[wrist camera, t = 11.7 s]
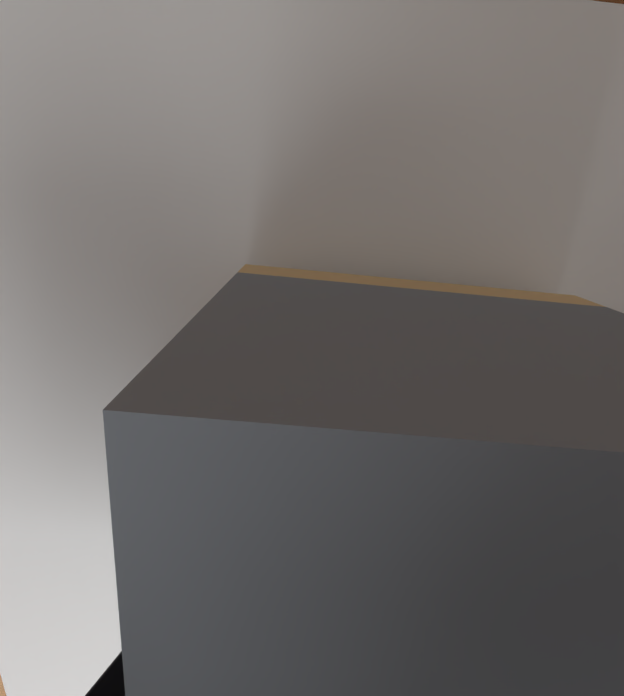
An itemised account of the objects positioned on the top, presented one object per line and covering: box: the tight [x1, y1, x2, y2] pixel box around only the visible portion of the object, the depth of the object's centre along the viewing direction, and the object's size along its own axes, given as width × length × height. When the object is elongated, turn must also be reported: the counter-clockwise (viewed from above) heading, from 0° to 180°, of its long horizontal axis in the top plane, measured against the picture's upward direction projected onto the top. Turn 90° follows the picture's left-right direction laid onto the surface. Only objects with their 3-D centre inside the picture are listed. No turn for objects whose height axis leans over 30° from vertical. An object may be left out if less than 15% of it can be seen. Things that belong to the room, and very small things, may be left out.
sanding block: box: [103, 264, 624, 696], centre depth 6 cm, size 9×6×5 cm, turn 175°
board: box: [0, 0, 624, 696], centre depth 11 cm, size 22×18×2 cm
